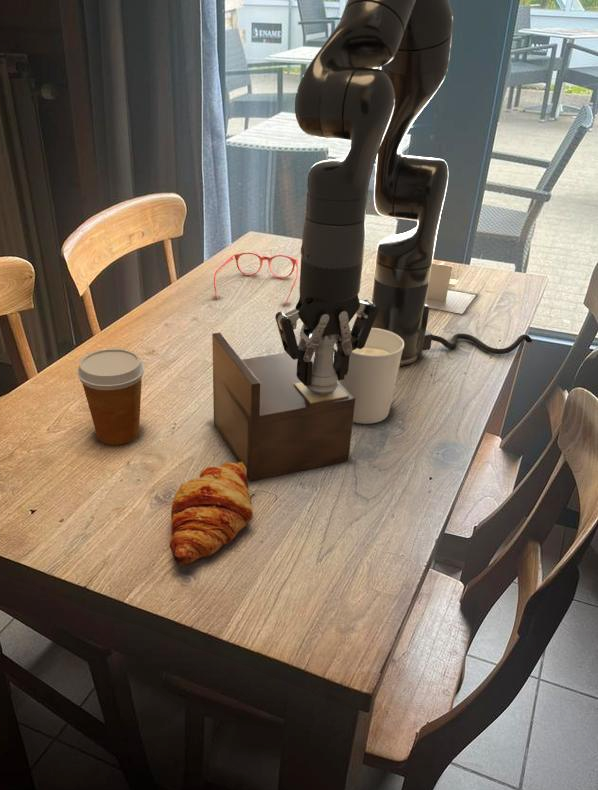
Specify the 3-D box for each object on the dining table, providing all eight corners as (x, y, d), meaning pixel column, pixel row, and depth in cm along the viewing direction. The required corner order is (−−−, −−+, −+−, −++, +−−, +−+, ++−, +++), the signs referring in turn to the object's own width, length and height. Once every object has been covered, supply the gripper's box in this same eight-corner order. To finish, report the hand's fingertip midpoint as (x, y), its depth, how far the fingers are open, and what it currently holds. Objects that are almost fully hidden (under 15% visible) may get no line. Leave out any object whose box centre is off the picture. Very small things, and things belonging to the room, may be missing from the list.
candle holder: (398, 401, 117) (408, 332, 110) (388, 431, 110) (398, 359, 102) (338, 391, 120) (345, 323, 113) (325, 420, 112) (331, 349, 105)
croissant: (220, 492, 103) (194, 445, 100) (282, 476, 98) (257, 426, 95) (161, 589, 86) (128, 537, 83) (232, 576, 81) (199, 520, 78)
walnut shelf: (303, 407, 115) (308, 319, 107) (348, 461, 103) (359, 366, 94) (213, 423, 111) (212, 333, 102) (249, 481, 99) (251, 384, 90)
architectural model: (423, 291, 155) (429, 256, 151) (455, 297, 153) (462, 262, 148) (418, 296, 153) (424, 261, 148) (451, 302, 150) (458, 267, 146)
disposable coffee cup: (79, 425, 111) (68, 353, 104) (139, 412, 114) (132, 342, 107) (95, 457, 104) (84, 383, 97) (158, 442, 107) (152, 370, 100)
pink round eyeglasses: (303, 278, 161) (305, 256, 158) (291, 306, 149) (293, 282, 146) (228, 272, 164) (228, 250, 161) (210, 298, 152) (209, 275, 149)
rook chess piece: (336, 396, 96) (341, 341, 92) (302, 393, 97) (306, 338, 92) (339, 380, 100) (344, 326, 95) (306, 377, 101) (310, 323, 96)
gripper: (290, 272, 83) (283, 402, 93) (399, 258, 87) (382, 384, 97) (266, 251, 89) (262, 376, 99) (369, 239, 93) (356, 360, 103)
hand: (322, 379), depth 98 cm, fingers closed on rook chess piece, 4 cm apart
